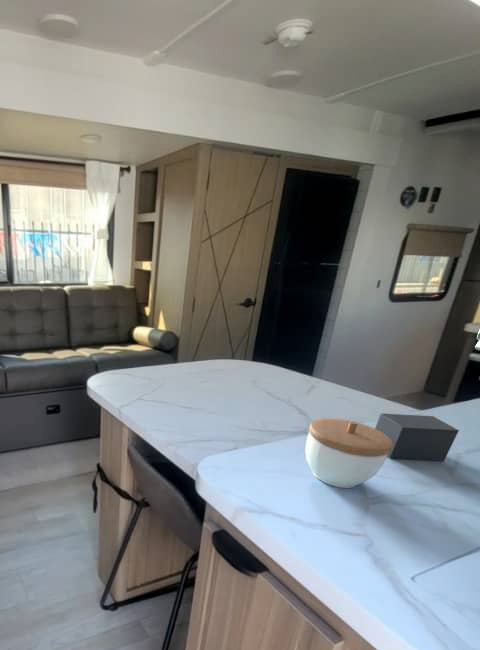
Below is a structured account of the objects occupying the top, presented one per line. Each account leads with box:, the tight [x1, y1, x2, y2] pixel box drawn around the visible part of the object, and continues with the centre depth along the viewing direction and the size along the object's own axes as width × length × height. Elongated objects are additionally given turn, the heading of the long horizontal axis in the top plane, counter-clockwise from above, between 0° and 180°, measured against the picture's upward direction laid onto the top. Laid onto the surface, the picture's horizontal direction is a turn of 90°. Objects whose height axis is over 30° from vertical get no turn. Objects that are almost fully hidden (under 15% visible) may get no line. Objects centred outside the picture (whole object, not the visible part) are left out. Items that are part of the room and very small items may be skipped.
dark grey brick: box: [374, 412, 460, 462], centre depth 83 cm, size 11×7×7 cm, turn 89°
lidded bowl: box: [304, 417, 393, 489], centre depth 72 cm, size 13×13×11 cm
